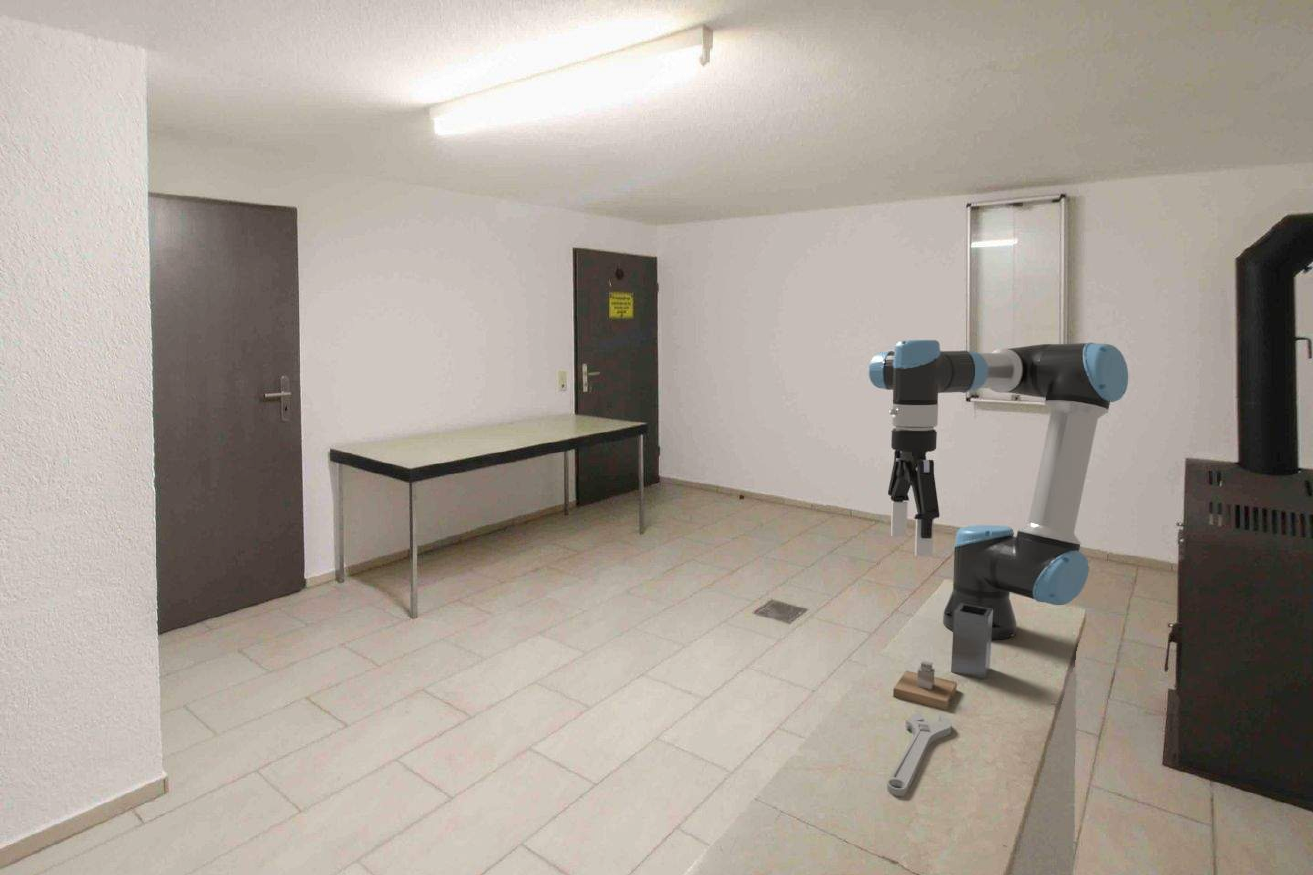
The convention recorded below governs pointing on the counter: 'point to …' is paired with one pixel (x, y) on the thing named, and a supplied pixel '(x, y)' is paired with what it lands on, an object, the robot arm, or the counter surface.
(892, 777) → the adjustable wrench
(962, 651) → the grey square tube
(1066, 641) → the counter surface
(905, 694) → the drive block
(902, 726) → the counter surface
